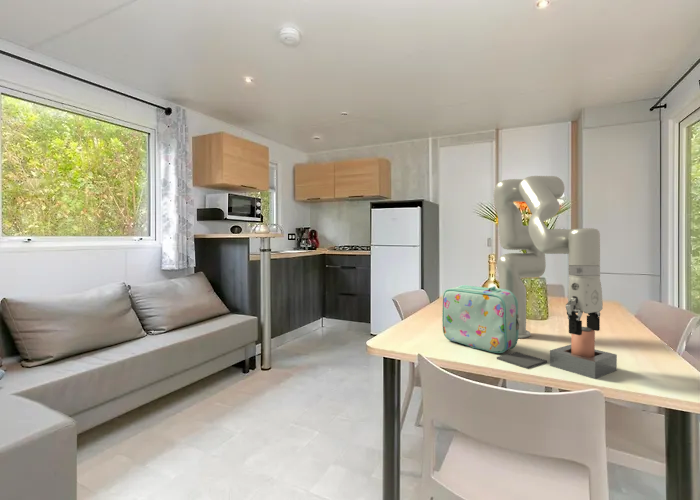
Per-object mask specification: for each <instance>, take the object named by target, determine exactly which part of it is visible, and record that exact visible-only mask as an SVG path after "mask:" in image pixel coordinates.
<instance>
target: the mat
mask: <svg viewBox="0 0 700 500" xmlns="http://www.w3.org/2000/svg"><path fill="white" fill-rule="evenodd" d="M496 360H499V361H502V362H505V363H508V364H511V365H515V366H518V367H521V368H524V369H531V368H533V367H537V366H540V365H543V364H546V363H548V360H546V359H543V358H540V357H536V356H532V355H530V354H529V355H528V354H525V353H521V352H518V351H515V352H510V353H506V354H502V355H500V356H496Z"/></svg>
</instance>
